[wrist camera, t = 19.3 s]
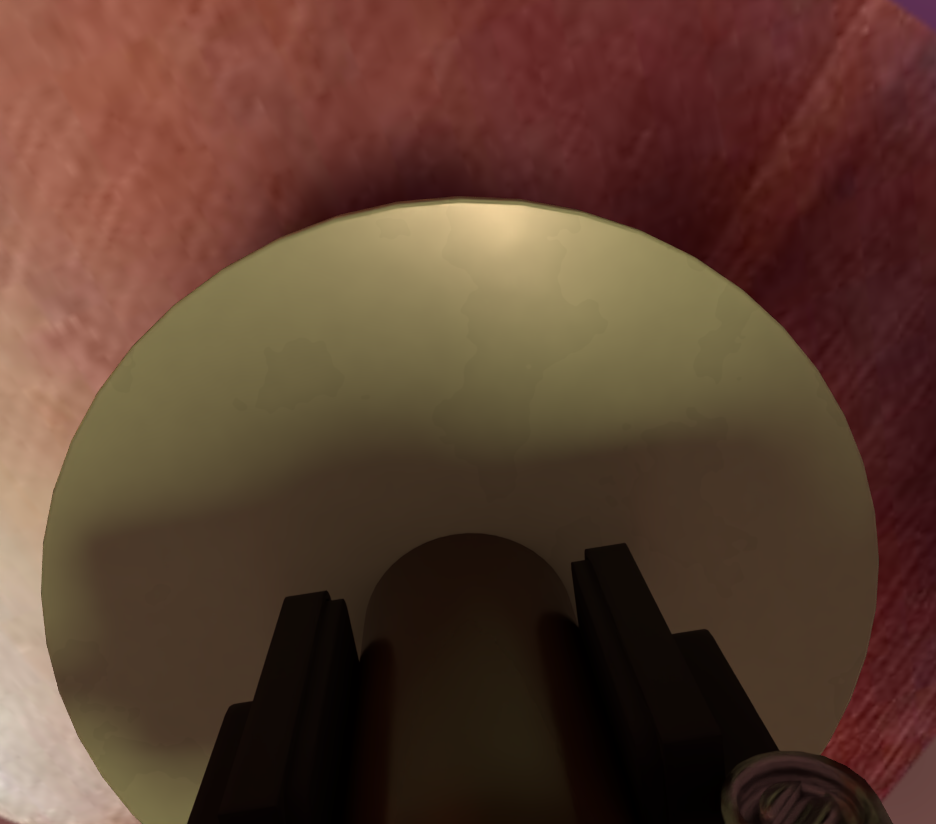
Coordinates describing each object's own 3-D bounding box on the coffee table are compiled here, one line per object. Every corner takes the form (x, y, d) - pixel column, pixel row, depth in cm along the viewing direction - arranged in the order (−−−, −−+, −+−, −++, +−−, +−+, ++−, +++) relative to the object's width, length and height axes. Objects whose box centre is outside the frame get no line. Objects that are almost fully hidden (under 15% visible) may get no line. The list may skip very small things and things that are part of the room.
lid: (836, 129, 12) (1312, 109, 5) (852, 835, 15) (1150, 1317, 9) (-40, 267, 12) (-577, 412, 5) (181, 942, 15) (10, 1499, 9)
